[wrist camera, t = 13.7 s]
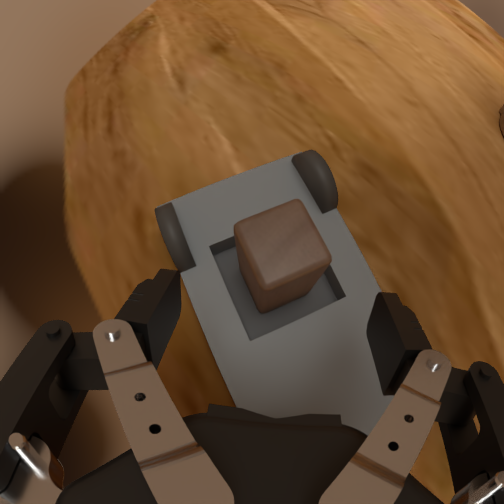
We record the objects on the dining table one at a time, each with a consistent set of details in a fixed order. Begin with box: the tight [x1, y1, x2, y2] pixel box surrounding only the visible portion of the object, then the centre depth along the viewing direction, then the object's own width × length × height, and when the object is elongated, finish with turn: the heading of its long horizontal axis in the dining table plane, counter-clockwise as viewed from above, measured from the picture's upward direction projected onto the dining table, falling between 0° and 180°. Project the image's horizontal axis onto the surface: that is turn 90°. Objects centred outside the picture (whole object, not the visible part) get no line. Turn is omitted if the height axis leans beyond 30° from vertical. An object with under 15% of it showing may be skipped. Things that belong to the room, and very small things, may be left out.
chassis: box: [155, 150, 394, 436], centre depth 21 cm, size 22×12×5 cm, turn 24°
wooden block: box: [234, 199, 332, 314], centre depth 20 cm, size 4×4×8 cm
